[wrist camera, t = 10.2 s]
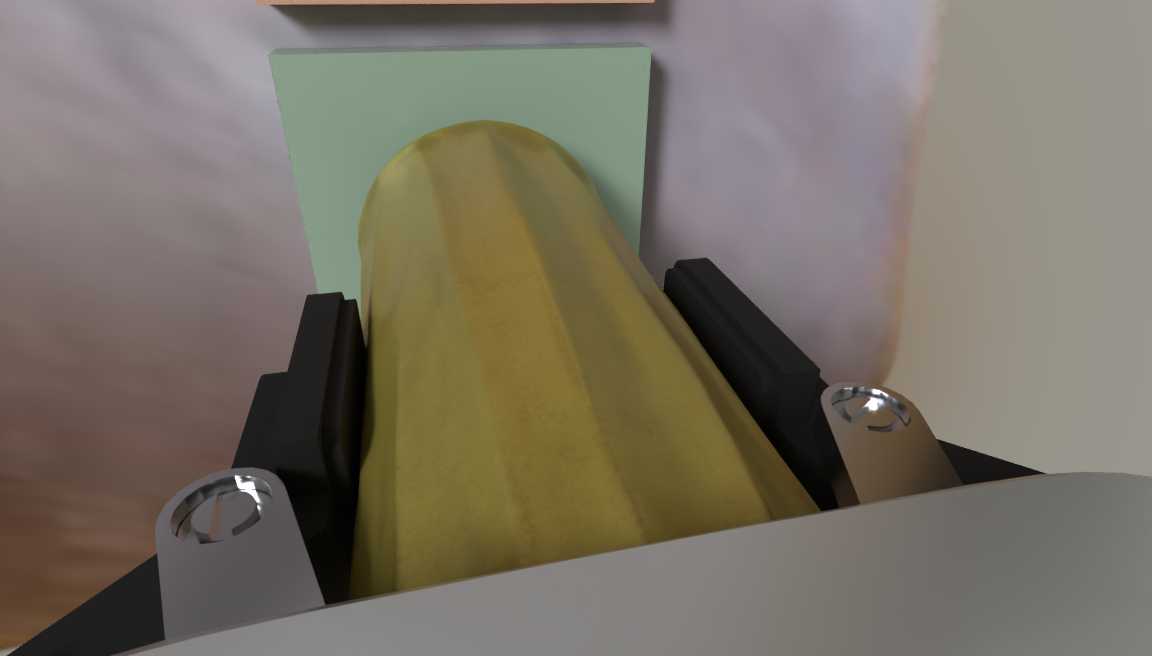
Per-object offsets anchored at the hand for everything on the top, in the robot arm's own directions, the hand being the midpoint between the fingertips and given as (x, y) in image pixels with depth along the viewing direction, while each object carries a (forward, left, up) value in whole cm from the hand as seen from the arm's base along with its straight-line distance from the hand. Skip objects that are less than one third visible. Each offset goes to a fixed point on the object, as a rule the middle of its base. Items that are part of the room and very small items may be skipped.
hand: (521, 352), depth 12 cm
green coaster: (0, 0, -8) cm, 8 cm away
